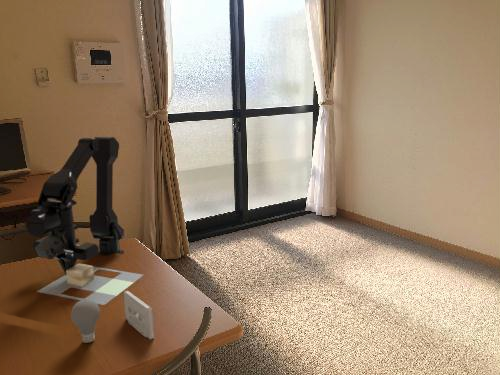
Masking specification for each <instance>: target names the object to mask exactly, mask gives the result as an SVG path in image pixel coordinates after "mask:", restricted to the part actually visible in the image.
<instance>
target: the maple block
mask: <svg viewBox="0 0 500 375" xmlns="http://www.w3.org/2000/svg"><path fill="white" fill-rule="evenodd" d="M66 274H67V282H68V284H72V285H77V286H83V285H85V284H87V283H88V282H90V281H91V280H93V279H94V275H95V272H93V265H89V264H84V263H77V264H75V266H73V267H72V268H70V269H68V270H66ZM66 274H65V275H66Z"/></svg>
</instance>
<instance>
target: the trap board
mask: <svg viewBox="0 0 500 375" xmlns="http://www.w3.org/2000/svg"><path fill="white" fill-rule="evenodd" d="M92 266H93V265H92ZM99 270H102V271H106V272H114V273H120V274H118V275H117V276H115V277H114V278H111V277H105V276H100V275H99V276H98V275H95V274H94V279H93V280H91V281H90V282H88V283H87V284H85V285H83V286H77V285H72V284H68V282H67V276H66V274H65V275H62V276H61V277H59V278H58V279H56V280H53V281H52V282H51V283H49V284H48V285H45V286H44V287H42V288H41V289H39V290H37V291H36V293H40V294H46V295H52V296H56V297H62V298H66V299H72V300H77V301H81V300H84V299H90V300H92V301H94V302H96V303H97V305H102V306H105V305H106V304H108V303H109V302H110V301H112V300H113V299H114V298H116V297H117V296H119V295H120V294H121V293H122V292H124V291H126V289H128V288H129V287H131V285H132V284H134V283H135V282H136V281H139V279H141V278H142V277H143V276H144V274H142V273H135V272H129V271H123V270H117V269H111V268H105V267H97V266H93V272H94V273H96V272H98V271H99ZM70 288H72V289H76V290H77V289H78V290H83V291H88V292H92V293H90V294H89V295H88V296H86V297H85V298H82V297H77V296H72V295H67V294H62V293H64V292H66V291H67V290H69V289H70Z"/></svg>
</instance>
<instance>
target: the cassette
mask: <svg viewBox="0 0 500 375" xmlns="http://www.w3.org/2000/svg"><path fill="white" fill-rule="evenodd" d="M123 298H124V299H123V300H124V311H125V312H124V313H125V319H126V320H127V323H128V324H129V325H130V326H132V327H133V328H134V329H135V330H136V331H138V332H139V333H140V334H141V335H142V336H144V337H145V338H147V339H149V340H152V339H155V332H154V331H155V330H154V318H153V308H152V307H150V305H148V304H146V303H145V302H144V301H143V300H141V299H140V298H138V297H137V296H136V295H134V294H133V293H131V292H130V291H129V290H126V289H125V290H124V291H123Z"/></svg>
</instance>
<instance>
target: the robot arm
mask: <svg viewBox="0 0 500 375" xmlns="http://www.w3.org/2000/svg"><path fill="white" fill-rule="evenodd" d="M119 149H120V142H119V141H118V140H117V138H115V137H114V136H94V137H82V138H79V140H78V141H77V145H76V147H75V149H74V150H73V152H71V154H70V156H69V157H68V159H67V160H66V162H65V163H64V164H63V166H62V167H61V169H60V170H59V171H57V172H55V173H54V174H51V176H50V177H48V178H47V179H46V180H45V181H44V183H43V185H42V189H41V191H40V194H39V198H38V200H37V203H36V206H35V207H36V209H35V208H34V209H32V210H31V211H30V215H29V216H28V217H27V219H26V222H25V227H26V230H27V232H28V233H29V234H30V235H32V236H34V237H41V238H39V239H36V240H35V241H34V242H33V244H32V252H34V253H37V255H38V257H39V258H40V259H47V260H53V259H55V260H57V261H58V263H59V264H60V266H61V268H62V270H63V272H64V274H65V275H66V276H67V274H66V270H68V269H70V268H72V267H73V266H75V265H76V262H77V260H79V261H80V260H81V261H86V260H90V258H92V257H94V256H95V255H97V254H99V255H100V256H101V255H102V256H109V255H111V254H119V255H121V254H124V252H125V251H124V250H121V248H120V247H121V246H120V240H122V239H123V237H124V236H125V229H124V228H123V227H122V226H121V224H119V221H118V216H117V214H116V212H115V210H114V209H113V183H114V182H113V178H114V177H113V174H114V172H113V170H114V168H113V166H114V163H115V161H117V159H118V157H119ZM91 158H92V160H93V161H94V162H95V165H96V168H95V169H96V171H95V173H96V181H95V183H96V184H95V185H96V187H95V188H96V190H95V191H96V192H95V193H96V194H95V196H96V197H95V203H96V204H95V206H96V207H95V211H94V212H93V214H90V215H89V226H88V228H89V231H90V233H91V234H92V235H91V236H92V237H93V239H94V240H95V239H96V240H97V239H98V244H97V243H94V242H88V241H87V242H84V243H82V244H78V243H80V238H76V230H77V229H78V228H79V227H78V224H75V223H74V222H75V220H74V212H73V211H74V210H73V206H75V205H77V201H76V200H74V199H73V198H74V196H75V194H76V191H77V189H78V179H79V177H80V175H81V174H82V172H83V170H85V167H86V166H87V164H88V163H89V161H90V159H91ZM45 234H47V235H46V236H44V237H42V236H43V235H45Z"/></svg>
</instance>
